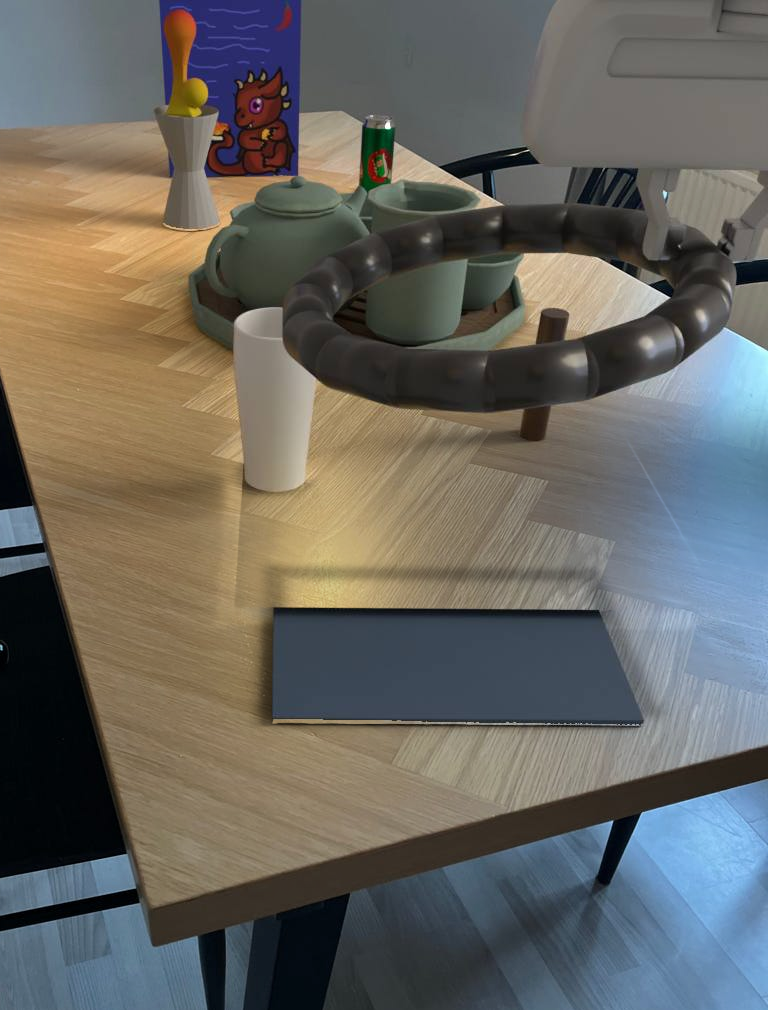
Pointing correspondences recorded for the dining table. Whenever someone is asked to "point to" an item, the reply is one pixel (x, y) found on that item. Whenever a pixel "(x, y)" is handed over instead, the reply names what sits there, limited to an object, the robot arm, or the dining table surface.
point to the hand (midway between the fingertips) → (695, 258)
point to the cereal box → (245, 81)
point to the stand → (548, 331)
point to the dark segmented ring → (520, 370)
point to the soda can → (376, 151)
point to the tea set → (335, 224)
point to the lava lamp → (187, 133)
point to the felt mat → (448, 666)
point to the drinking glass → (271, 402)
